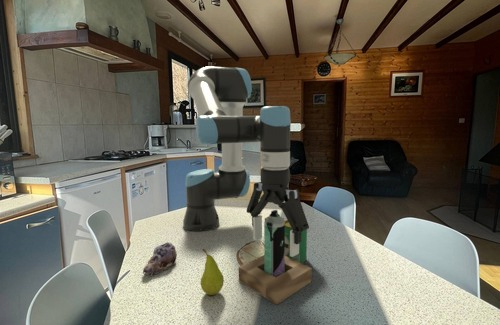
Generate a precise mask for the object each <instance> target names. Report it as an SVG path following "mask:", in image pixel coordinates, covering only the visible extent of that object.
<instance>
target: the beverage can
mask: <svg viewBox="0 0 500 325" xmlns="http://www.w3.org/2000/svg"><path fill="white" fill-rule="evenodd" d="M284 222H285V256H287V257H289V258H291V259H293V260H295V261H297V262H300V263H302V264H304V263H305V262H306V260H307V253H308V252H307V245H308V242H307V240H308V238H307V237H308V229H307V230H305V231H302V237H301V238H302V239H301V243H299V254H297V255H295V256H293V257H291V256H290V231H291V230H293V229H292V227H291V226H290V224H289V222H288V220H287V219H286V220H285V221H284ZM296 226H297V225H296Z"/></svg>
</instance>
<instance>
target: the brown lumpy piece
mask: <svg viewBox="0 0 500 325" xmlns="http://www.w3.org/2000/svg"><path fill="white" fill-rule="evenodd" d="M177 253H178V252H177V250H176V247H175V245H173V244H172V242H164V243H163V244H160V245H157V246H156V247H155V248H154V250H153V253H152V256H150V259H149V260H148V261H147V264H146V265H145V266H144V267H143V269H142V270H143V271H142V274H143V275H144V274H146V275H150V277H151V278H152V276H153V274H154V275H157V274H159V273H161V272H162V271H165V270H166V269H168V268H169V267H170V266H173V265H174V264H175V263H176V261H177V257H178V256H177ZM163 264H166V266H163Z"/></svg>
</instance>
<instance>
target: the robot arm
mask: <svg viewBox="0 0 500 325" xmlns="http://www.w3.org/2000/svg"><path fill="white" fill-rule="evenodd" d="M252 89H253V86H252V80H251V76H250V74H249V72H248V70H246V69H245V68H241V67H229V66H228V67H225V66H223V67H222V66H212V65H211V66H205V67H204V66H203V67H201V68H198V69H197V70H196V71H195V72H194V73H192V74H191V75H190V77H189V79H188V81H187V91H188V94H189V96H190V97H191V98H192V100H194V104H195V107H196V110H197V113H198V116H197V117H196V120H195V134H196V135H195V136H196V140H197V142H198V143H199V144H205V145H206V144H208V145H209V144H210V145H217V144H221V164H220V165H219V166H218V171H217V172H216V171H214V169H213V168H204V169H203V168H202V169H198V170H194V171H191V172H188V173H187V174H186V176H185V184H184V186H185V193H186V194H185V196H186V198H185V199H186V210H185V213H184V217H183V225H182V226H183V228H184V229H186V230H187V231H192V232H204V231H209V230H213V229H215V228H218V226H219V224H220V218H219V217H220V216H219V214H218V212H217V209H216V207H215V206H216V205H215V204H216V203H215V201H216V200H225V199H226V200H227V199H238V198H243V197H246V195H247V194H248V193H249V190H250V186H251V179H250V178H251V176H250V175H251V174H250V172H249V171H248V170H246V166H245V165H244V163H243V144H245V143H247V144H248V143H260V148H259V150H260V167H262V168H261V169H260V181H257V182H254V183H253V191H252V193H251V196H250V200H249V202H248V205H247V207H246V213H248V214H250V217H251V222H252V223H251V225H252V227H253V229H252V232H253V239H252V240H254V241H257V240H259V239H261V238H263V216H262V215H261V214H262V212H263V211H264V208H266V206H267V204H268V203H270V204H271V203H273V204H274V205H277V206H278V207H279V208H280V209H281V211H282V212H283V214H284V216H285V218H286V220H288V222H289V224H290V226H291V227H292V229H293V230H291V231H290V256H291V257H293V256H295V255H297V254H299V243H301V239H302V238H301V237H302V231H305V230H307V231H308V230H309V228H310V226H309V223H308V220H307V216H306V213H305V211H304V208H303V206H302V202H301V200H300V192H299V189H294V190H292V189H289V184H290V181H291V179H290V178H291V170H290V168H289V167H290V166H291V123H292V121H291V111H290V108H289V107H288V106H286V105H279V106H278V105H273V106H271V105H268V106H263V107H261V108H260V113H259V114H260V115H243V114H244V113H243V110H244V109H243V107H244V106H245V105H246V104H247V99H250V98H251V96H252V91H253V90H252ZM296 225H297V226H296Z"/></svg>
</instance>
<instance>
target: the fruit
mask: <svg viewBox="0 0 500 325" xmlns="http://www.w3.org/2000/svg"><path fill="white" fill-rule="evenodd" d="M202 251H203V252H204V253H205V255H206V257H205V258H206V261H205V263H204V269H203V273H202V275H201V277H200V287H201V289H202V291H203V293H205V294H206V295H209V296H214V295H217V294H218V293H219V292H220V291H221V290H222V288H223V286H224V275H223V273H222V272H221V270H220V268H219V266H218V263H217V261H216V259H215V258H214V256H212V255H211V254H208V253H207V250H206V249H204V248H203V249H202Z"/></svg>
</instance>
